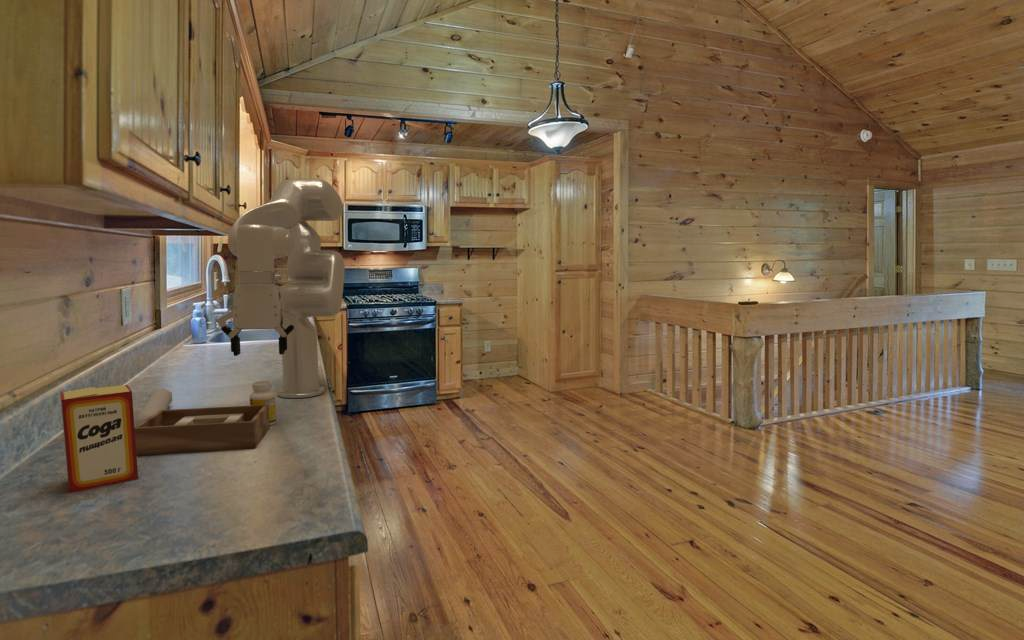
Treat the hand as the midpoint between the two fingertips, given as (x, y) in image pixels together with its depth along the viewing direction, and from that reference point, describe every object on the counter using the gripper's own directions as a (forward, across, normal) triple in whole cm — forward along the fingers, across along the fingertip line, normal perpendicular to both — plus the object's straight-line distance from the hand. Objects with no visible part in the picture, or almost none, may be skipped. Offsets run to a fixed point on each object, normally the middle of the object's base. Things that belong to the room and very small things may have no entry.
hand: (259, 354), depth 129 cm
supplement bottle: (+17, 0, -1) cm, 17 cm away
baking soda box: (+17, +20, +29) cm, 39 cm away
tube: (+17, +26, -11) cm, 33 cm away
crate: (+17, +9, +10) cm, 22 cm away
